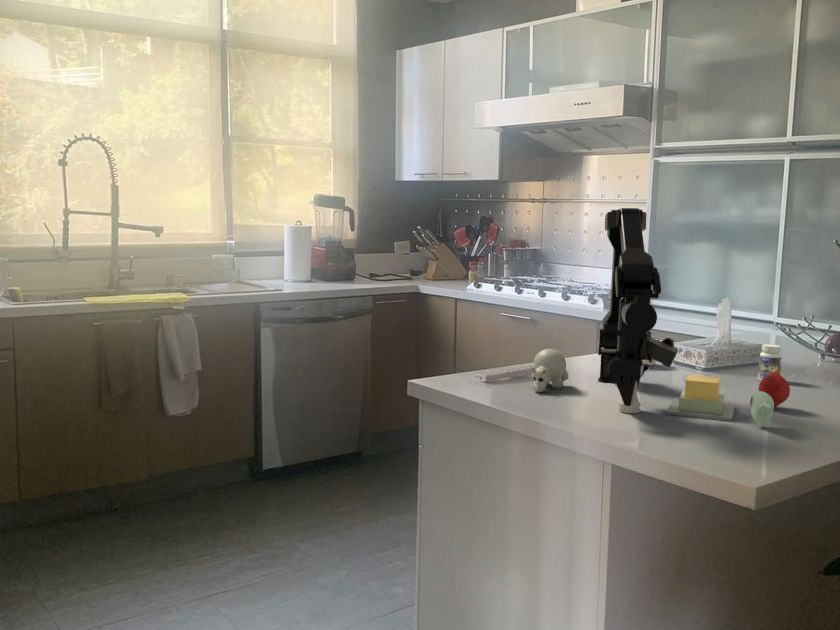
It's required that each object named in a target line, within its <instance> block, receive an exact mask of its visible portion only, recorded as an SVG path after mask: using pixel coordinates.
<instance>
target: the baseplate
mask: <svg viewBox="0 0 840 630" xmlns="http://www.w3.org/2000/svg"><path fill="white" fill-rule="evenodd" d="M725 397H726V394H725V393H720V394H719V397H718V400H717V401H714V400H704V399H695V398H685V389H683V390H682V392H681V394H680V395H679V397H678V398H677V397H673V399H672V401H671V402H670V404H669V406H668V408H667V409H666V415H672V416H673V415H674V416H680V417H690V418H699V419H700V418H701V419H709V420H715V421H716V420H717V421H726V422H733V420H734V419H733V418H734V414H735V409H736V404H735V403H733V404H732V403H725Z"/></svg>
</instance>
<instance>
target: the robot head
mask: <svg viewBox="0 0 840 630" xmlns="http://www.w3.org/2000/svg"><path fill="white" fill-rule="evenodd" d="M749 406H750V414H751V416H752V418H753V421H754V422H755V423H756V424H757V426H759V427H760V428H765V427H767V425H768V424H770V421H771V420H772V416H773V412H774V409H775V408H774V401H773V399H772V397H771V396H770V395H768V394H767V393H765V392H762V391H759V390H758V391H756V392H755V393H753V394H752V395H751V397H750V399H749Z"/></svg>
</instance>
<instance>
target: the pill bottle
mask: <svg viewBox="0 0 840 630" xmlns="http://www.w3.org/2000/svg"><path fill="white" fill-rule="evenodd" d="M758 362H759V363H758V374H757V380H759V381H760V382H761V381H762V379H763V378H765V377H766V376H767V375H769V374H771V373H772V371H774V370H775V369H778V370H779V371H780V372H779V374H780V375H781V369H782V368H781V366H782V354H781V345H779V344H771V343H764V344H761V352H760V354H759V360H758Z"/></svg>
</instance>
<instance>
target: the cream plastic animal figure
mask: <svg viewBox="0 0 840 630" xmlns="http://www.w3.org/2000/svg"><path fill="white" fill-rule="evenodd" d="M530 370H531V372H532V373H531V379H532V382H533V386H532V387H533V390H534V391H535V392H536V393H543V392H544V391H545V390H546V389H547V387H548V386H549V385H550V383H551V386H552V387H551V388H553V389H555V388H556V389H557V390H558V389H561V388H563V386H564V382H565V381H567V380H568V379H569V373H568V371H567V361H566V358H565V356H564V355H563V354H562V352H561V351H559V350H557V349H555V348H554V349H553V348H545V349H542V350H540V351H539V352H537V354H536V355H535V357H534V359H533V367H532V366H531V367H530ZM556 389H555V390H556Z"/></svg>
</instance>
